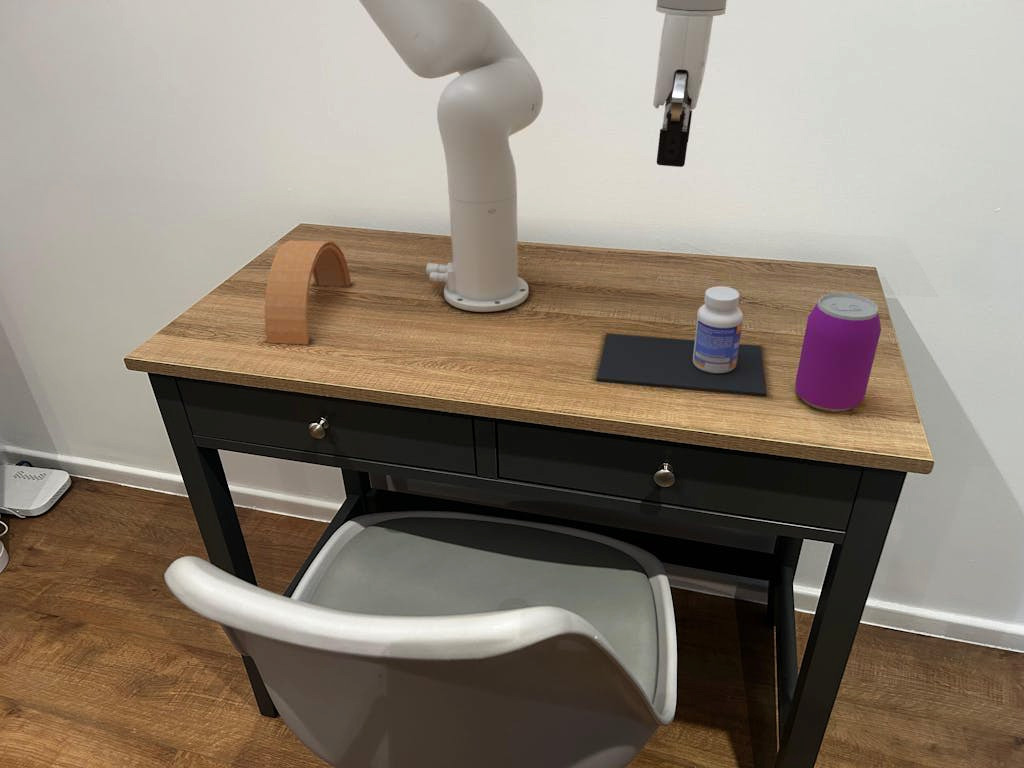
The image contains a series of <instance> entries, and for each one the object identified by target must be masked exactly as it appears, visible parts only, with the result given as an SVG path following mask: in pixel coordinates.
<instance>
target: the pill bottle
mask: <svg viewBox="0 0 1024 768" xmlns="http://www.w3.org/2000/svg"><path fill="white" fill-rule="evenodd" d="M703 301H704V304H703V305H701V306H700V307H699V308H698V309H697V313H696V325H695V333H694V335H695V336H694V340H695V344H694V353H693V363H694V365H695V366H696V367H697V368H698V369H700V370H703V371H705V372H709V373H718V374H720V373H727V372H730V371H732V370H733V369H734V368H735V367H736V364H737V358H738V351H739V344H741V337H742V327H743V321H744V314H743V311H742V310H741V309H740V308H739V304H740V292H739V290H736V288H735V289H734V288H732V287H729V286H719V285H718V286H712V287H709V288H707V289H706V290H705V293H704V298H703Z"/></svg>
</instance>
